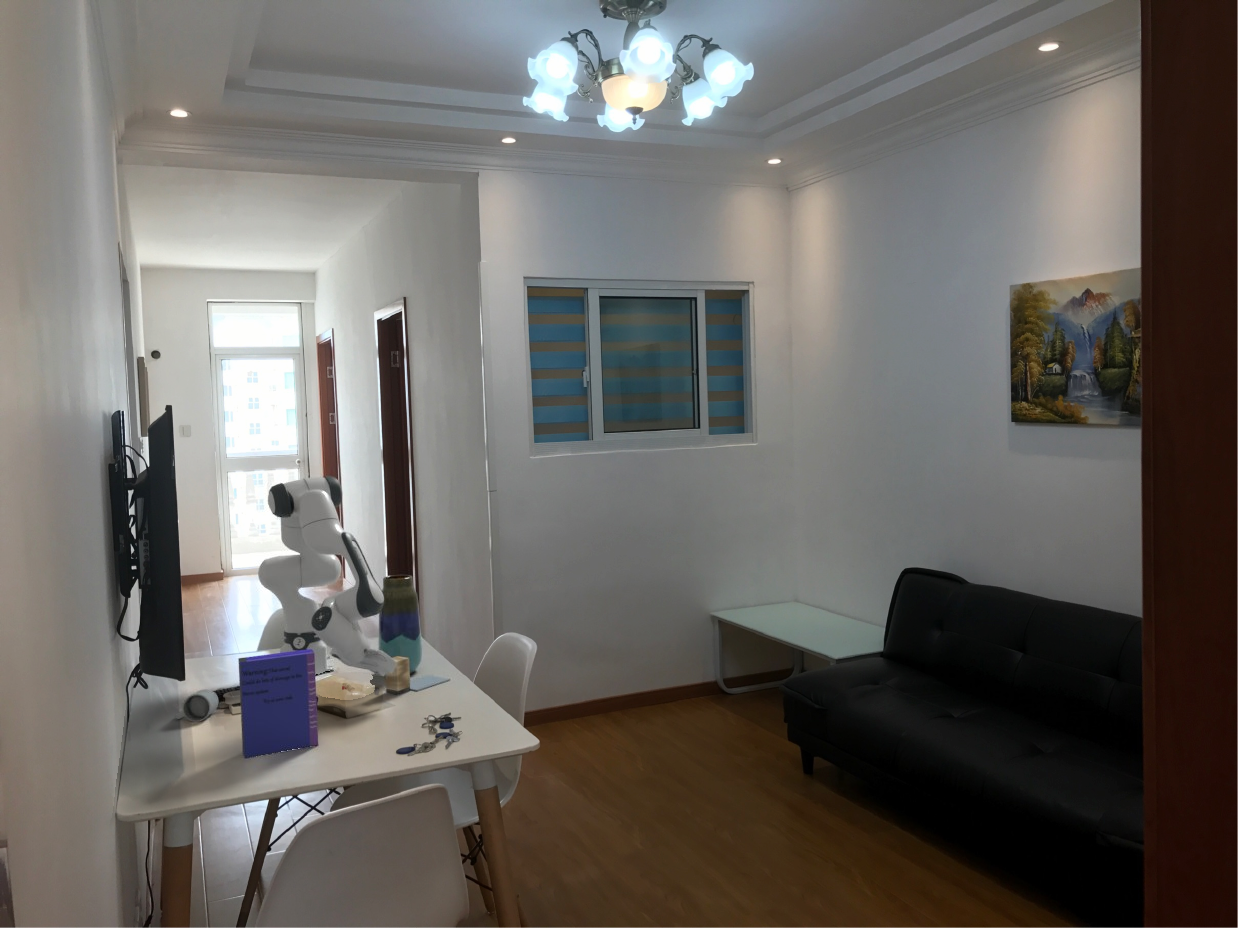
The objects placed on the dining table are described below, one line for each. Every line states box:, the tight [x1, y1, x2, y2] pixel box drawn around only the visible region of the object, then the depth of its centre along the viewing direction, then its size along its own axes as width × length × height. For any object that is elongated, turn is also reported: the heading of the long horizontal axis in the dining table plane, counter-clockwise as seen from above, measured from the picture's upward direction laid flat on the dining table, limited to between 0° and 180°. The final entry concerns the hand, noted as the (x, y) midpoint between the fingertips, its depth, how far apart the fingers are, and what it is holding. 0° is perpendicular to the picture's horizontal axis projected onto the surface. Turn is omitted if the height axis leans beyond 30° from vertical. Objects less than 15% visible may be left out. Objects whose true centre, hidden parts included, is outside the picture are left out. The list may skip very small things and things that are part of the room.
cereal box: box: [238, 649, 319, 759], centre depth 239 cm, size 17×5×24 cm, turn 117°
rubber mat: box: [410, 674, 451, 692], centre depth 297 cm, size 14×10×1 cm
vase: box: [377, 574, 423, 674], centre depth 310 cm, size 14×14×31 cm
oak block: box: [385, 656, 411, 696], centre depth 288 cm, size 5×5×10 cm
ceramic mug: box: [175, 689, 220, 723], centre depth 268 cm, size 11×8×8 cm
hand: (381, 673), depth 283 cm, fingers closed
